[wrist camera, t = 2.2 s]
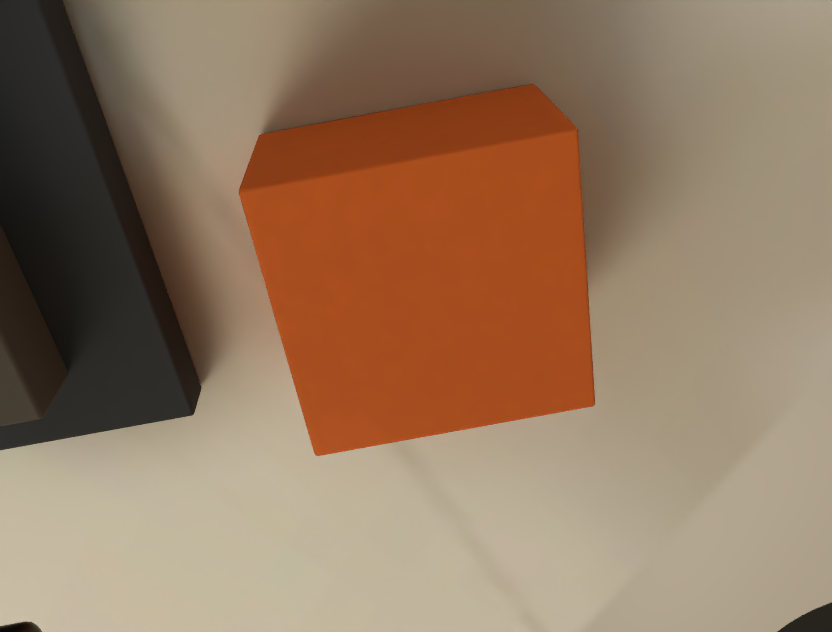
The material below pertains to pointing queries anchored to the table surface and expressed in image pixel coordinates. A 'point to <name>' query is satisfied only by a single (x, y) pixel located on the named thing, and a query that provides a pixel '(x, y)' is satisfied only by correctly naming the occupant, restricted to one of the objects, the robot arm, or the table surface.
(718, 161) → the table surface
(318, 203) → the orange block
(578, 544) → the table surface
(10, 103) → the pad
